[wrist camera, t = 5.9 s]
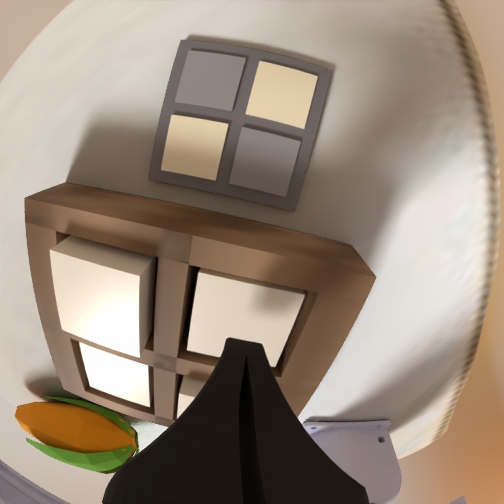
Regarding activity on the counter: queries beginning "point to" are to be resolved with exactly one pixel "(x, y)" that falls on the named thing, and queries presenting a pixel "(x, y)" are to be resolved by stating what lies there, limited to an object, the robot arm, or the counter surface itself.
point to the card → (239, 122)
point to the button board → (194, 287)
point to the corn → (79, 433)
